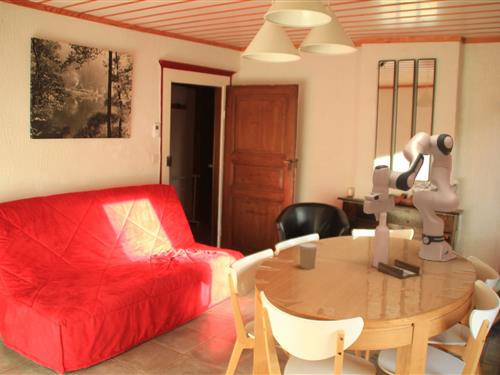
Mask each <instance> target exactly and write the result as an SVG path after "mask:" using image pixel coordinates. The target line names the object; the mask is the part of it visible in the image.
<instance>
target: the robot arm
mask: <svg viewBox="0 0 500 375" xmlns="http://www.w3.org/2000/svg"><path fill="white" fill-rule="evenodd" d="M453 148H454V139H453V138H452V136H451V135H450V134H446V133H440V134H434V135H429V133H427V132H423V131H420V132H417V133H416V134H414V135H413V137H412V138H411V139H409V141H408V142H407V143H406V144H405V146H404V148H403V150H402V152H403V157H404V159H405V160H406V161H408V163H410V165H409V167H408V169H407V170H405V171H397V170H392V169H390V166H389V165H386V164H385V165H384V164H382V165H381V164H380V165H377V166H375V167H374V169H373V172H372V180H371V181H372V188H371V191H370V192H368V193H366V194H364V201H363V213H365V214H367V215H371V214H373V215H374V216H375V221H376V222H379V218H380V216H379V214H380V212H386V213H388V212H394V211H395V210H396V205H395V203H396V202H395V201H396V200H395V196H394V195H393V194H389V192H390V189H392V190H399V191H403V192H408V191H409V190H411V189H412V188H413V187H414V185H415V184H414V183H415V182H416V178H417V177H418V174H419V172H420V171H421V169H422V166H423V165H424V162H425V156H432V158H433V161H432V164H431V167H430V173H429V183H431V185H433V186H434V187H435V188H437V191H431V190H418V191H416V192H414V193H413V195H412V200H411V201H412V204H413V206H414V207H415V208H416V209H417V210H418V211H419V213H420V214H421V217H422V223H423V224H422V225H423V228H422V230H423V231H422V233H421V242H420V247H419V251H418V252H417V255H418V257H419V258H421V259H423V260H426V261H431V262H432V261H435V262H445V263H446V262H447V261H450V260H453V259H456V258H457V255H456V254H454V253H453V248H452V246H451V245H450V243H448V242H447V241H446V239H448V238H449V235H448V234H444V230H445V222H444V220H443V218H441V217H440V216H438V215H437V214H436V212H444V213H451V212H455V211H456V210H457V209H458V208H459V205H460V199H459V197H458V196H457V195H456V193H454V192H453V190H452V188H451V184H450V183H451V182H450V180H451V172H452V167H453V157H452V156H453V155H452V154H451V153H452V151H453ZM435 211H436V212H435Z"/></svg>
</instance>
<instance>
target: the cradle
mask: <svg viewBox="0 0 500 375" xmlns="http://www.w3.org/2000/svg"><path fill="white" fill-rule="evenodd" d="M377 271H379V272H381V273H384V274H386V275H389V276H390V277H391V276H392V277H394V278H397V279H400V280H402V279H406V278H407V279H408V278H413V277H416V276H417V277H418V276H420V275H421V274H420V271H421V266H420V265H419V266H418V265H416V264H413V263H409V262H406V261H405V260H404V261H403V260H401V259H397V258H395V259H394V263H393V265H390V264H389V263H388V264H385V263H382V262H378V268H377Z"/></svg>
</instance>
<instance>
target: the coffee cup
mask: <svg viewBox="0 0 500 375" xmlns="http://www.w3.org/2000/svg"><path fill="white" fill-rule="evenodd" d="M317 248H318V246H317V245H316V244H315V243H310V242H309V243H300V244H299V264H300V268H301V269H305V270H313V269H315V267H316V260H317V259H316V258H317V257H316V256H317Z"/></svg>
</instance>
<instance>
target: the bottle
mask: <svg viewBox="0 0 500 375" xmlns="http://www.w3.org/2000/svg"><path fill="white" fill-rule="evenodd" d="M387 213H388V212H380V214H379V215H378V216H380V218H379V221H378V222H379V223H378V225H377V226H376V228H375V229H374V239H373V240H374V242H373V258H372V259H373V262H372V266H373V267H374V268H376V269H378V262H382V263H385V264H388V265H389V253H390V252H389V250H390V229H389V227H388V226H387Z"/></svg>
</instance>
